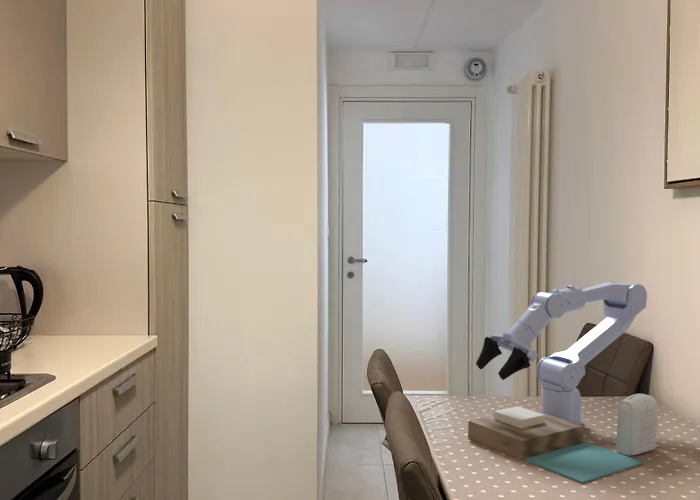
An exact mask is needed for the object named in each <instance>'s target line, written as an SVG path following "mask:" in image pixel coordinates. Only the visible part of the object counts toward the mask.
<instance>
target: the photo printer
mask: <svg viewBox="0 0 700 500" xmlns="http://www.w3.org/2000/svg"><path fill="white" fill-rule="evenodd" d="M658 408H659V407H658V402H657V400H656V399H655V397H653V396H652V395H650V394H649V395H648V394H645V393H635V394H631V395H629V396H627V397H625V398H623V399H622V400H621V401H620V402H619V404H618V406H617V424H616V425H617V426H616V427H617V429H616V452H617V451H618V452H617V453H619V454H622V455H625V456H628V457H631V456H636V455H640V454H643V453H647V452H649V451H650V452H651V451H654V450H655V449H656V447H657V431H658V430H657V428H658Z"/></svg>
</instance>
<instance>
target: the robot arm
mask: <svg viewBox="0 0 700 500" xmlns="http://www.w3.org/2000/svg"><path fill="white" fill-rule="evenodd" d="M596 301H602V304H603V306H602V307H603V313H604V315H605V317H606V318H604V319H603V320H602V321H601V322H599V323H598V324H596V326H595V327H593V328H592V329H591V330H589V332H587V333H586V334H584V335H583V336H582V337H581V338H579V339H578V341H576V342H575V343H574V344H572V345H571V346H570V347H569V348H568V349H566V350H563V351H558V352H554V353H552V354H550V356H544V357H542V358H541V359H540V360H539V361H538V363H537V364H536V366H535V367H536V368H535V372H536V373H535V374H536V378H537V379H538V380H539V381H540V385H541V386H542V388H541V389H542V391H541V412H542V413H545V414H548V415H551V416H555V417H558V418H561V419H564V420H567V421H571V422H574V423H577V424H580V425H583V424H584V421H583V420H581V418H582V396H581V393H580V391H579V389H578V388H576V387H577V386H578V385H579V384H580V381H581V380H582V379H583V377H584V376H586V367H585V366H586V365H587V364H588V363H589V362H591V361H592V360H593V359H594V358H595V357H596V356H598V355H599V354H600V353H601V352H603V350H605V349H607V347H608V346H610V345H611V344H612V343H613V342H614V341H616V339H618V338H619V337H620V336H622V335H623V334H624V333H625V332H626V331H627V330H628V329H629V328H630V327H631V325H632V323H633V322H634V320H635V319H636V317H637V315H639V314H640V313H641V312H642V311H644V310H645V309H646V308H647V301H648V292H647V289H646V288H645V286H644V285H642V284H638V283H637V284H636V283H635V284H632V283H624V282H623V283H622V282H616V281H607V282H606V281H604V282H603V283H600V284H595V285H592V286H590V287H586V288H580V287H579V286H575V285H573V284H569V285H566V288H561V289H557V288H554V289H552V290H551V291H550V292H545V291H541V292H538V293H536V294H533V295H532V296H531V299H530V303H529V306H528V307H527V308H526V311H525V312H524V313H523V314H522V315H521V316H520V317H519V318H518V319H517V321H515V323H514V324H513V325H512V327H511V328H510V329H509V330H508V331H507V332H506V331H503V333H502V334H499V333H493V332H490V333H489V334H488V336H486V337H485V338H484V341H483V345H482V349H481V352H480V353H479V356H478V358H477V360H476V362H475V365H476V366H477V368H478V369H480V370H482V369H483V368H485V367H486V366H487V365H488V364H489V363H490V362H491V361H493V359H495V358H497V357H498V356H501V355H502V354H503V352H502V351H501V349H500V348H499V347H501V348H502V349H505V350H507V351H510V352H511V354H510V355H509V357H508V359H507V360H506V362H505V363H504V364H503V365H502V367H501V368H500V370H499V371H498V372H497V374H498V376H499V377H500V379H501V380H503V381H504V380H506V379H507V378H509V377H510V376H512V375H513V374H514V375H515V374H516V373H517V372H520V371H521V370H524V369H527V368H529V367H530V366H531V363H530V361H531V362H534V361H535V360H536V359H537V358H538V356H539V354H538V353H537V352H536V350H535V349H533V348H531V347H529V346H530V345H531V344H532V342H533V341H534V340H535V339H536V338H537V337H538V336H539V334H540V333H541V332H542V331H543V330H544V329H545V327H546V326H547V325H548V324H549V323H550V322H551V321H552V319H553V318H554V319H556V318H559V319H560V318H561V317H563V315H564V314H565V313H569V312H573V311H577V310H581V309H583V308H584V307H585V306H586V304H587V303H591V302H596Z"/></svg>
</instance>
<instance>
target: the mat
mask: <svg viewBox="0 0 700 500" xmlns="http://www.w3.org/2000/svg"><path fill="white" fill-rule="evenodd" d="M524 461H525V462H528V463H529V462H530V463H529V464H533V465H534V464H535V465H534V466H538V467H539V466H540V468H542V469H544V468H545V470H547V469H548V470H547V471H549V470H551V471H550V472H552V471H553V472H552V473H554V472H556V473H555V474H557V473H558V474H557V475H559V474H560V475H559V476H562V477H564V476H565V477H564V478H567V479H570V480H572V481H575V482H577V483H579V484H586V483H588V482H592V481H596V480H598V479H602V478H604V477H608V476H611V475H613V474H614V475H615V474H617V473H620V472H623V471H626V470H630V469H632V468H636V467H640V466H641V465H644V464H645V461H644V460H640V459H636V458H633V457H631V456H628V455H624V454H621V453H619V452H617V451H613V450H609V449H607V448H604V447H601V446H597V445H596V444H592V443H590V442H584V443H581V444H577V445H573V446H570V447H566V448H562V449H558V450H555V451H551V452H547V453H544V454H540V455H536V456H532V457H529V458H525V459H524Z"/></svg>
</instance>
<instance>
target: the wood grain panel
mask: <svg viewBox="0 0 700 500" xmlns="http://www.w3.org/2000/svg"><path fill="white" fill-rule="evenodd" d="M526 409H528V410H531V411H534V412H537V413H541V414H544V415H545V423H541V424H537V425H533V426H528V427H524V428H518V427H516V426H513V425H510V424H507V423H504V422H501V421H498V420H496V419H494V414H492V415H488V416H484V417H479V418H475V419H469V420H468V423H467V424H468V427H467V429H468V430H467V431H468V433H467V439H469V440H473V441H475V442H477V443H479V444H482V445H484V446H487V447H490V448H492V449H495V450H497V451H499V452H503V453H505V454H507V455H510V456H512V457H515V458H518V459H519V460H524V459H525V458H529V457H532V456H536V455H540V454H544V453H547V452H551V451H555V450H558V449H562V448H566V447H570V446H573V445H577V444H581V443H585V442H584V440H585V425H583V424H577V423H574V422H571V421H567V420H564V419H561V418H558V417H555V416H551V415H548V414H545V413H542V411H540V410H539V411H538V410H535V409H531V408H529V407H527V408H526Z"/></svg>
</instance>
